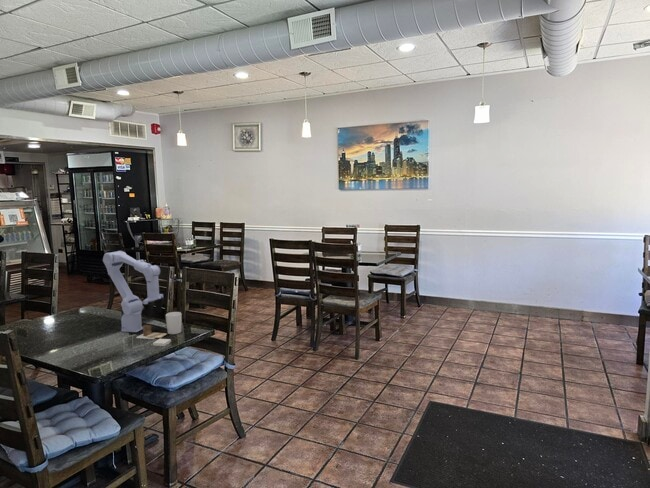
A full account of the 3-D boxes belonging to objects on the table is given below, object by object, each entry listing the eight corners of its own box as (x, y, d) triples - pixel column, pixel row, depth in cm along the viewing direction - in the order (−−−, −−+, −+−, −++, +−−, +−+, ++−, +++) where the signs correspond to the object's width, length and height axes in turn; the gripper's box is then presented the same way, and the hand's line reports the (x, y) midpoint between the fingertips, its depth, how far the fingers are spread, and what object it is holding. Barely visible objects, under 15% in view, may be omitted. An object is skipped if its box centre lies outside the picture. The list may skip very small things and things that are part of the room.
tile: (152, 342, 206) (164, 343, 205) (159, 338, 212) (170, 339, 211) (153, 346, 206) (164, 346, 205) (159, 342, 212) (171, 342, 211)
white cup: (169, 335, 220) (168, 316, 219) (164, 332, 227) (163, 313, 225) (184, 332, 225) (183, 314, 224) (179, 329, 231) (178, 311, 230)
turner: (141, 337, 217) (140, 327, 217) (148, 333, 223) (147, 324, 223) (160, 338, 215) (159, 328, 215) (166, 334, 221) (166, 325, 221)
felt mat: (135, 338, 217) (135, 337, 217) (145, 333, 225) (145, 332, 225) (153, 339, 215) (153, 338, 215) (162, 334, 223) (162, 333, 223)
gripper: (151, 292, 215) (153, 318, 217) (167, 286, 229) (169, 310, 231) (139, 291, 217) (140, 317, 218) (156, 285, 231) (157, 310, 232)
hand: (154, 314), depth 225 cm, fingers open, 7 cm apart
